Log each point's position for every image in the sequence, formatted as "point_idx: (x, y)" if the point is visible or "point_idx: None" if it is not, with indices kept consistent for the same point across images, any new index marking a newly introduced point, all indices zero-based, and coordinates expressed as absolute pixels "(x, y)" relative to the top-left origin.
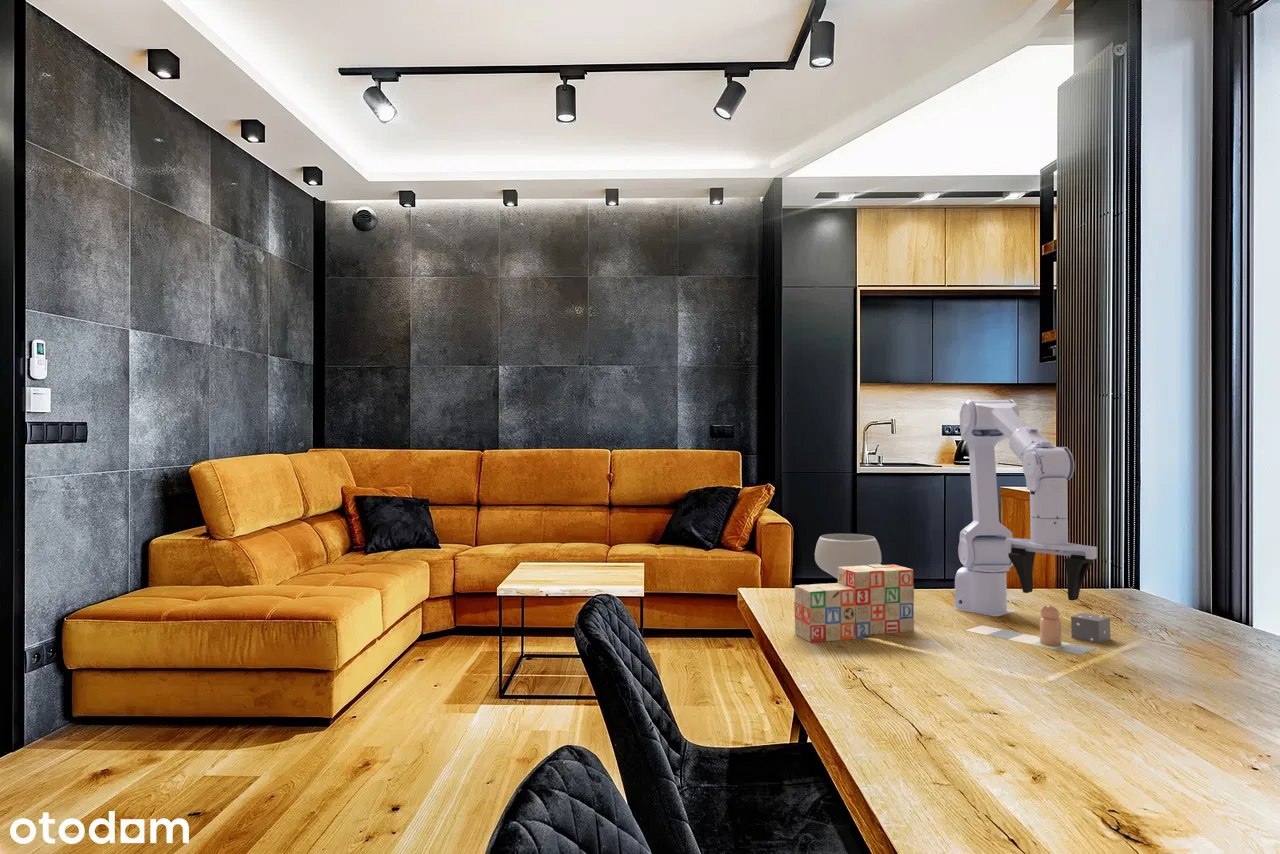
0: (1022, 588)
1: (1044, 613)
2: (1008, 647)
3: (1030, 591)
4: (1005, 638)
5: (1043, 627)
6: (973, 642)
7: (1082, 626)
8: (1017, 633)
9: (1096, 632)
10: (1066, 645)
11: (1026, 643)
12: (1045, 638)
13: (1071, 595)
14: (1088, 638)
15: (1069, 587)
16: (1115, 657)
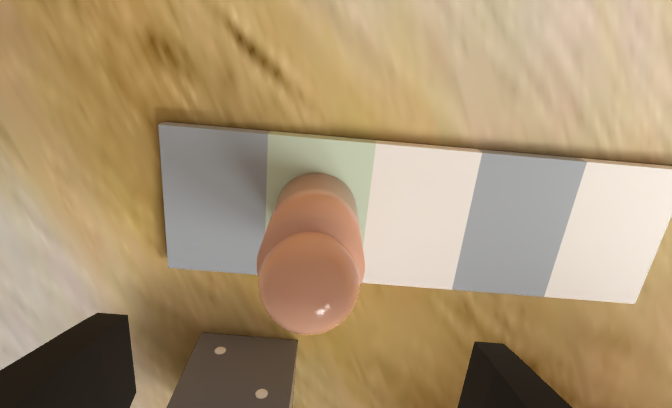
0: (522, 361)
1: (322, 242)
2: (452, 73)
3: (463, 398)
4: (495, 161)
5: (328, 201)
6: (613, 38)
7: (244, 387)
8: (476, 275)
9: (191, 370)
10: (262, 230)
11: (395, 144)
12: (321, 181)
13: (68, 330)
14: (232, 351)
15: (27, 381)
16: (94, 235)
